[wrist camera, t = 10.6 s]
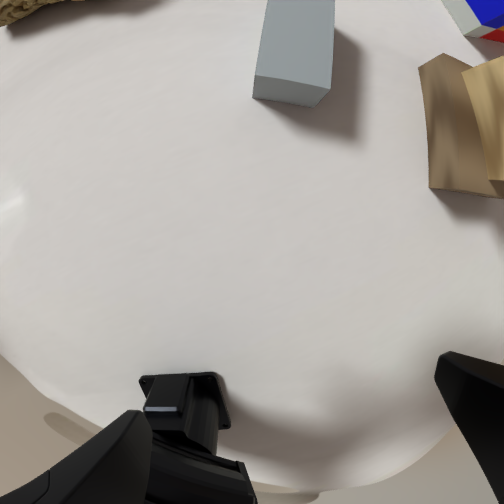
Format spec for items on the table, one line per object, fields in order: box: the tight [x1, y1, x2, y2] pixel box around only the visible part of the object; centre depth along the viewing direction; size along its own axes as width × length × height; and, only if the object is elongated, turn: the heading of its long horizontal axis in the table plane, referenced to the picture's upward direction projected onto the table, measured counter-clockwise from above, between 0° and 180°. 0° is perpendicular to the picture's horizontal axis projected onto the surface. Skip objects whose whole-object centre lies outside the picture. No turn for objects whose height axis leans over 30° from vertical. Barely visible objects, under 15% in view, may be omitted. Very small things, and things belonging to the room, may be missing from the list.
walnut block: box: [418, 53, 504, 199], centre depth 15 cm, size 10×8×4 cm
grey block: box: [252, 0, 335, 108], centre depth 13 cm, size 8×4×4 cm, turn 172°
